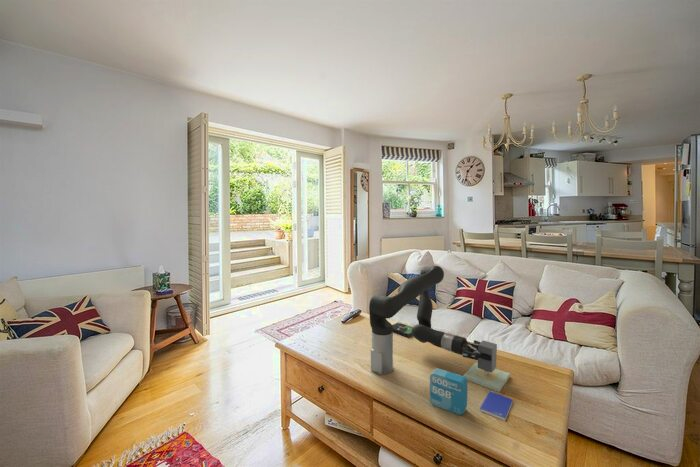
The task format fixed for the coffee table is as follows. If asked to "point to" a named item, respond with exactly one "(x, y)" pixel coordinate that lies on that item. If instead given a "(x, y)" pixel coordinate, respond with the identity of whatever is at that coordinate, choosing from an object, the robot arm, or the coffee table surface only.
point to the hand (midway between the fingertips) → (493, 355)
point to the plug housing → (489, 350)
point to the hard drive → (496, 405)
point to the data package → (448, 391)
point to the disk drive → (402, 329)
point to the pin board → (487, 377)
